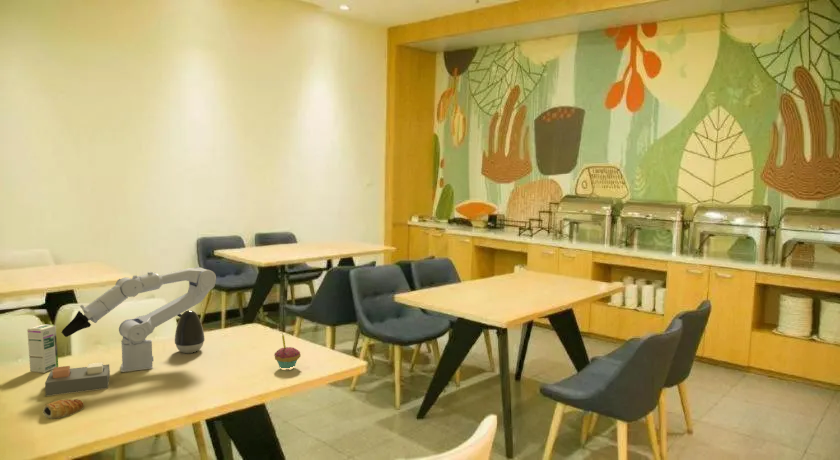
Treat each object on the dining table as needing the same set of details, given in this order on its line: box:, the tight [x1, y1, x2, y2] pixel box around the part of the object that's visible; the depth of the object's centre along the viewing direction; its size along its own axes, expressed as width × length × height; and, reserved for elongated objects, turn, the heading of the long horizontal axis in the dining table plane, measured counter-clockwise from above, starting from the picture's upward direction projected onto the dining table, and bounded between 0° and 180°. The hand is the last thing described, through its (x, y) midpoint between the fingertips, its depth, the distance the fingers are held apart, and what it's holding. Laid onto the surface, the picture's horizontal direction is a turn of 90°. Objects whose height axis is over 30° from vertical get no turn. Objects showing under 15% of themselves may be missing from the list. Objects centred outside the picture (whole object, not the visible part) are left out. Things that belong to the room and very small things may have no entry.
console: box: [44, 364, 111, 397], centre depth 179 cm, size 16×11×4 cm
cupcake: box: [273, 332, 301, 368], centre depth 198 cm, size 9×8×12 cm
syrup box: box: [26, 323, 59, 374], centre depth 193 cm, size 6×6×14 cm
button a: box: [86, 361, 104, 374], centre depth 181 cm, size 4×4×4 cm
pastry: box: [42, 398, 85, 420], centre depth 160 cm, size 9×7×4 cm
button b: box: [52, 365, 71, 378], centre depth 177 cm, size 4×4×4 cm
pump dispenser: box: [174, 309, 205, 354], centre depth 214 cm, size 10×10×15 cm
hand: (63, 334), depth 181 cm, fingers open, 7 cm apart
